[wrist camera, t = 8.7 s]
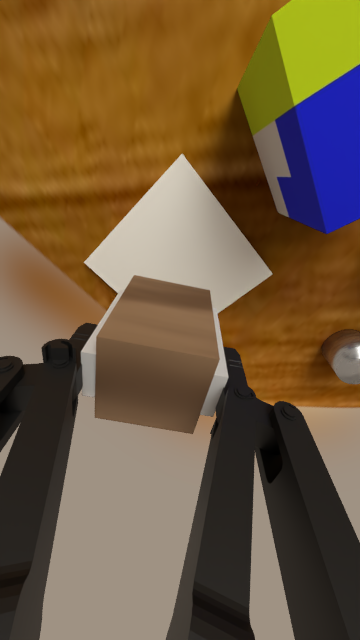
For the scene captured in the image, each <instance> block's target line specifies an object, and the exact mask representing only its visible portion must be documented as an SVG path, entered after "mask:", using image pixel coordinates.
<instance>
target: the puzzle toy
mask: <svg viewBox="0 0 360 640" xmlns="http://www.w3.org/2000/svg"><path fill="white" fill-rule="evenodd" d="M237 90H238V93H239V96H240V99H241V102H242V105H243V109H244V112H245V115H246V118H247V121H248V124H249V127H250V130H251V133H252V136H253V139H254V142H255V145H256V148H257V151H258V154H259V157H260V160H261V163H262V166H263V169H264V172H265V175H266V178H267V181H268V184H269V187H270V190H271V193H272V196H273V199H274V202H275V205H276V208H277V212H278V213H280V214H282V215H285V216H287V217H289V218H291V219H294V220H296V221H298V222H300V223H302V224H305V225H307V226H309V227H311V228H314V229H316V230H318V231H320V232H323V233H325V234H328V233H330V232H332V231H334V230H337V229H339V228H341V227H343V226H345V225H347V224H349V223H351V222H353V221H356V220H358V219H360V0H291V1H290V2H289V3H287V4H286V5H285V6H283V7H282V8H281V9H280V10H278V11H277V12H276V13H274V14H273V15H272V16H271V18H270V20H269V22H268V24H267V27H266V29H265V31H264V33H263V35H262V37H261V39H260V41H259V43H258V46H257V48H256V50H255V52H254V54H253V56H252V58H251V60H250V62H249V64H248V67H247V69H246V71H245V73H244V75H243V77H242V79H241V81H240V83H239V86H238V88H237Z"/></svg>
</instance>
